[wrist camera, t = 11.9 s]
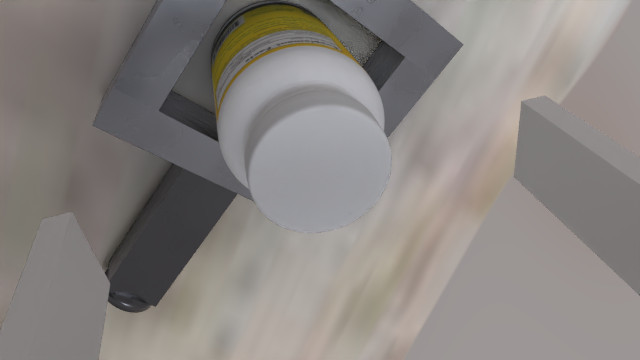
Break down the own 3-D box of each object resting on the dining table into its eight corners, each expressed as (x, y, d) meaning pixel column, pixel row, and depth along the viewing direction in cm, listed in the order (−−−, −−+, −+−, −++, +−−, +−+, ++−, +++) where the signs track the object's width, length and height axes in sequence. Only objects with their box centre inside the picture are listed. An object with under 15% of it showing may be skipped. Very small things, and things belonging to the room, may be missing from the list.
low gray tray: (235, -140, 20) (242, -140, 18) (434, 25, 26) (463, 44, 23) (25, 235, 27) (6, 277, 24) (217, 301, 33) (220, 342, 30)
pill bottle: (329, 117, 27) (399, 246, 18) (212, 119, 26) (224, 261, 17) (340, -2, 24) (432, 82, 15) (207, -6, 22) (219, 82, 13)
